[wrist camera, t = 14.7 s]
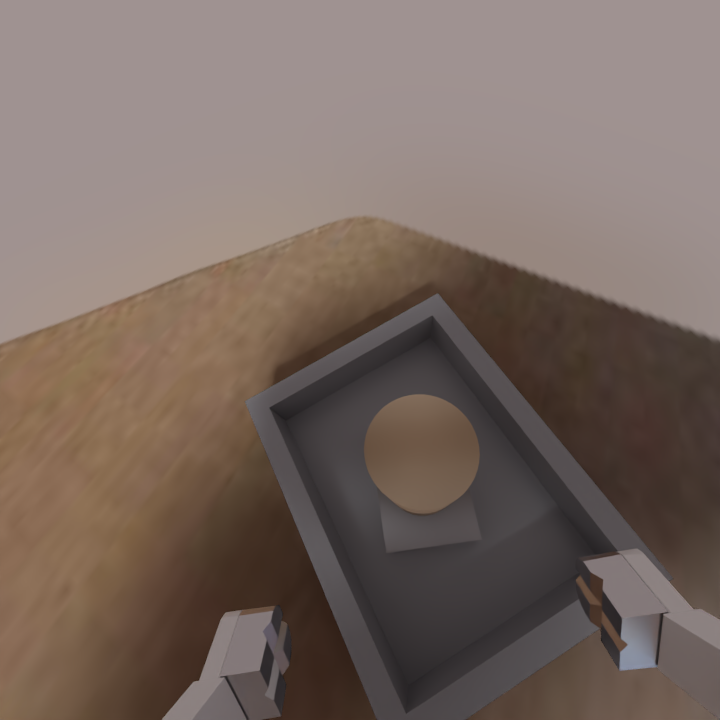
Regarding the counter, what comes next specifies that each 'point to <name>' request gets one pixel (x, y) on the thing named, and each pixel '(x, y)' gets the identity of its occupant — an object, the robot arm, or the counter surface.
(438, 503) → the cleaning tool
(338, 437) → the tray
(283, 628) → the robot arm
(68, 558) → the counter surface
